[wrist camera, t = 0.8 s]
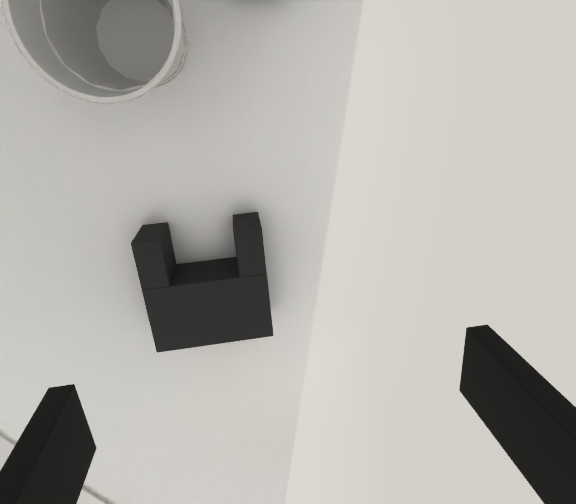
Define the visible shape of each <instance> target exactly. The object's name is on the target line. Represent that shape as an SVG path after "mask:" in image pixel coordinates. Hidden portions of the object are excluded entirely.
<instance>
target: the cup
mask: <svg viewBox="0 0 576 504" xmlns="http://www.w3.org/2000/svg"><path fill="white" fill-rule="evenodd" d="M1 1H2V8H3V13H4V16H5V20H6V23H7V26H8V29H9V31H10V33H11V36H12V38H13V40H14V42H15V44H16V45H17V47H18V49H19V50H20V52H21V53H22V55H23V56H24V58H25V59H26V60H27V62H28V63H29V64H30V65H31V66H32V67H33V68H34V69H35V71H36V72H37V73H39V74H40V75H41V76H42V77H43V78H44V79H45V80H46V81H48V82H49V83H50V84H52V85H53V86H55V87H56V88H58V89H59V90H61V91H63V92H65V93H67V94H69V95H71V96H74V97H76V98H79V99H82V100H85V101H90V102H95V103H120V102H125V101H129V100H132V99H135V98H137V97H140V96H142V95H144V94H145V93H147V92H148V91H150V90H151V89H153V88H154V87H156V86H159V85H162V84H164V83H166V82H168V81H170V80H171V79H172V78H174V77H175V76H176V75H177V73H178V72H179V71H180V69H181V68H182V66H183V63H184V61H185V58H186V53H187V38H186V33H185V29H184V26H183V24H182V18H181V10H180V4H179V0H1Z"/></svg>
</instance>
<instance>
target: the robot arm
mask: <svg viewBox="0 0 576 504" xmlns="http://www.w3.org/2000/svg"><path fill="white" fill-rule="evenodd" d="M460 392H461V393H462V394H463V396H464V397H465V398H466V399H467V401H468V402H469V404H470V405H471V406H472V407H473V409H474V410H475V411H476V413H477V414H478V416H479V417H480V418H481V419H482V421H483V422H484V423H485V425H486V426H487V428H488V429H489V430H490V432H491V433H492V434H493V436H494V437H495V438H496V439H497V441H498V442H499V443H500V445H501V446H502V448H503V449H504V450H505V452H506V453H507V454H508V456H509V457H510V458H511V460H512V461H513V462H514V464H515V465H516V466H517V468H518V469H519V470H520V472H521V473H522V474H523V476H524V477H525V478H526V479H527V481H528V482H529V484H530V485H531V486H532V488H533V489H534V490H535V492H536V493H537V494H538V496H539V497H540V498H541V500H542V501H543V502H544V504H576V407H575V406H573V405H572V404H571V403H570V402H569V401H568V400H567V399H566V398H565V397H564V396H563V395H562V394H561V393H560V392H559V391H557V390H556V389H555V388H554V387H553V386H552V385H551V384H550V383H549V382H548V381H547V380H546V379H545V378H543V376H542V375H540V374H539V373H538V372H537V371H536V370H535V369H534V368H533V367H532V366H531V365H529V363H528V362H526V361H525V360H524V359H523V358H522V357H521V356H520V355H519V354H518V353H517V352H516V351H515V350H514V349H513V348H512V347H511V346H510V345H509V344H507V343H506V342H505V341H504V340H503V339H502V338H501V337H500V336H499V335H498V334H497V333H496V332H495V331H494V330H492V329H491V328H490V327H489V326H488V325H482V326H475V327H468V328H467V329H466V339H465V347H464V355H463V364H462V373H461V382H460ZM95 450H96V446H95V443H94V440H93V437H92V434H91V431H90V428H89V425H88V423H87V420H86V417H85V414H84V411H83V408H82V405H81V403H80V400H79V397H78V394H77V391H76V388H75V385H74V384H73V385H66V386H59V387H52V388H49V389H48V390H47V392H46V394H45V395H44V397H43V399H42V401H41V402H40V404H39V406H38V407H37V409H36V411H35V413H34V414H33V416H32V418H31V419H30V421H29V423H28V425H27V426H26V428H25V430H24V431H23V433H22V435H21V437H20V438H19V440H18V442H17V443H16V445H15V447H14V449H13V450H12V452H11V454H10V456H9V457H8V459H7V461H6V463H5V464H4V466H3V467H2V469H1V471H0V504H76V503H77V500H78V498H79V495H80V492H81V489H82V487H83V484H84V481H85V478H86V475H87V473H88V470H89V467H90V464H91V461H92V459H93V456H94V453H95Z"/></svg>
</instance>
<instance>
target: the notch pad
mask: <svg viewBox="0 0 576 504" xmlns="http://www.w3.org/2000/svg"><path fill="white" fill-rule="evenodd" d="M233 232H234V239H235V246H236V254H237V257H233V258H225V259H217V260H209V261H201V262H193V263H185V264H177V265H176V260H175V255H174V250H173V245H172V240H171V235H170V230H169V225H168V223H159V224H150V225H143V226H142V227H141V228H140V230H139V232H138V233H137V235H136V236H135V238H134V240H133V241H132V243H131V246H132V250H133V254H134V258H135V262H136V267H137V271H138V275H139V279H140V283H141V287H142V292H143V296H144V300H145V305H146V309H147V313H148V317H149V321H150V325H151V330H152V334H153V338H154V342H155V346H156V350H157V352H163V351H170V350H177V349H184V348H191V347H198V346H205V345H212V344H219V343H226V342H233V341H240V340H247V339H254V338H261V337H268V336H273V328H272V319H271V310H270V300H269V291H268V282H267V274H266V264H265V255H264V246H263V237H262V228H261V224H260V219H259V215H258V212H254V213H246V214H237V215H233Z"/></svg>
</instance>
